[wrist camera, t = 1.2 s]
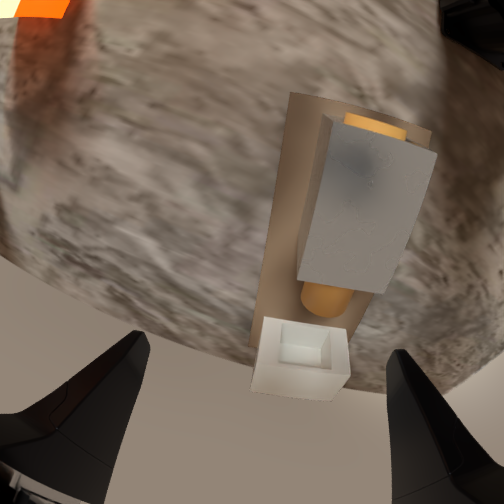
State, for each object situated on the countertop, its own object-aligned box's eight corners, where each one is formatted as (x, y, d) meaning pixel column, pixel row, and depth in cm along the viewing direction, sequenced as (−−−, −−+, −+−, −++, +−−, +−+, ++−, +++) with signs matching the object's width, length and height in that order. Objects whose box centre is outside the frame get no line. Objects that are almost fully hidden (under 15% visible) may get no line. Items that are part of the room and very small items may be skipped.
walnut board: (427, 129, 15) (432, 131, 15) (338, 354, 29) (338, 359, 28) (290, 92, 16) (290, 92, 15) (249, 340, 29) (247, 346, 29)
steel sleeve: (402, 134, 15) (437, 153, 11) (367, 248, 20) (383, 294, 16) (322, 113, 16) (333, 121, 11) (297, 234, 21) (296, 279, 16)
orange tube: (395, 125, 14) (417, 135, 11) (344, 288, 22) (349, 320, 19) (341, 110, 15) (352, 114, 12) (300, 281, 22) (300, 313, 19)
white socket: (346, 329, 25) (350, 375, 21) (330, 358, 28) (331, 401, 24) (264, 316, 26) (256, 363, 21) (257, 348, 28) (249, 391, 24)
